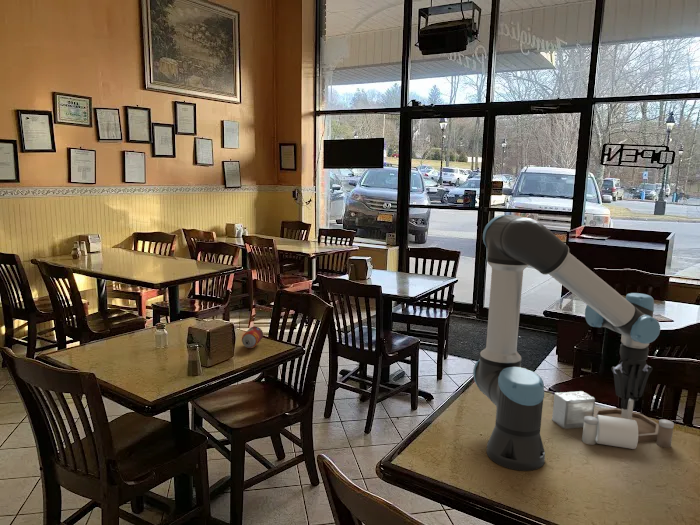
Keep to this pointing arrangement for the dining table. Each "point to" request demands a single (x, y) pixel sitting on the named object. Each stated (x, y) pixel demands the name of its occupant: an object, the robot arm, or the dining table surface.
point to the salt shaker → (589, 430)
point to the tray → (645, 424)
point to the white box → (572, 408)
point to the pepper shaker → (665, 433)
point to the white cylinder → (617, 432)
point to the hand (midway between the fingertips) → (626, 418)
